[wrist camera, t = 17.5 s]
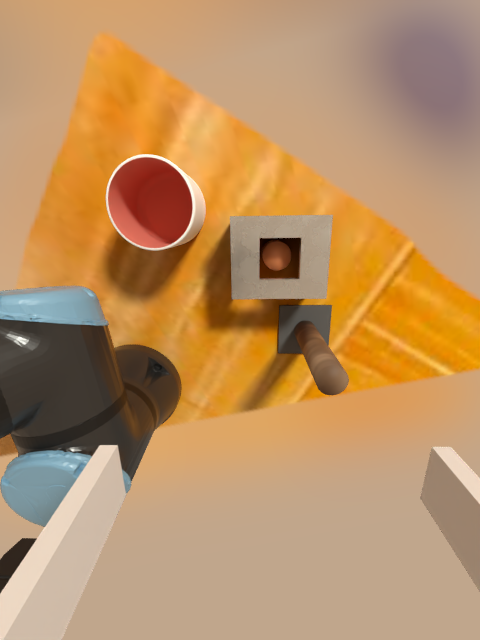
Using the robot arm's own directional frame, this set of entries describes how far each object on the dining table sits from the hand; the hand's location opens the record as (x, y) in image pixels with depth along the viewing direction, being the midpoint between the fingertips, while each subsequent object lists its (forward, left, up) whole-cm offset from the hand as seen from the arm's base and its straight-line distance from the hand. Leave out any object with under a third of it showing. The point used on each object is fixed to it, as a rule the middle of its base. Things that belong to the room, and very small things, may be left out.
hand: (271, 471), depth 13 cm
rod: (+8, -6, -34) cm, 36 cm away
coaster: (+8, -6, -35) cm, 36 cm away
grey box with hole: (+3, +6, -35) cm, 35 cm away
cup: (-12, +12, -35) cm, 39 cm away
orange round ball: (+3, +6, -35) cm, 35 cm away
